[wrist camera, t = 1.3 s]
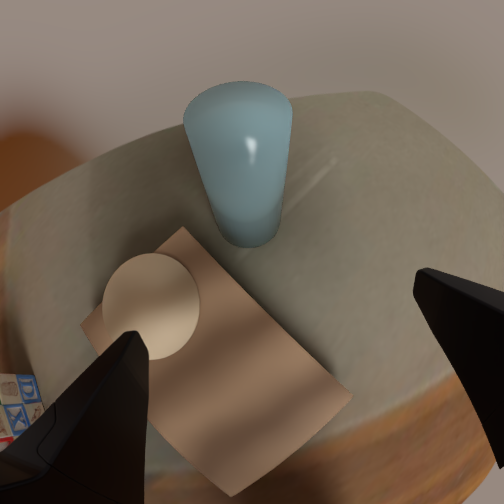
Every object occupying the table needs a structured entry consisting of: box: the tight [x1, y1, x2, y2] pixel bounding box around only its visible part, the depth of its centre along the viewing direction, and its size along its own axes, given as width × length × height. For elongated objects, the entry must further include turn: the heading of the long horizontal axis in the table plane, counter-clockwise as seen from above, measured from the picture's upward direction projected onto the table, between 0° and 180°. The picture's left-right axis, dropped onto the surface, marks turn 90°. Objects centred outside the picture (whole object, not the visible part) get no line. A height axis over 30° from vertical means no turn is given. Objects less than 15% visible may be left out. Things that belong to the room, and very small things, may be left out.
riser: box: [80, 226, 353, 497], centre depth 19 cm, size 19×12×3 cm, turn 44°
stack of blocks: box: [0, 373, 45, 452], centre depth 10 cm, size 21×6×12 cm, turn 21°
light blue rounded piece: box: [183, 81, 292, 248], centre depth 18 cm, size 6×6×12 cm
